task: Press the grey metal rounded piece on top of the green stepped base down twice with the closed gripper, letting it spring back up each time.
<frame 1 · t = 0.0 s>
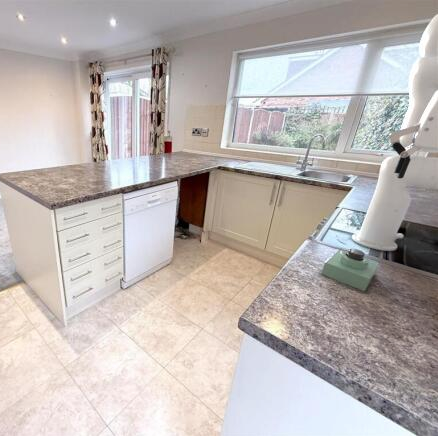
hand: (433, 181, 47), 31 cm above the worktop, tool pointing down, fingers open, 9 cm apart
grey metal rounded piece: (355, 254, 69), point 7 cm above the worktop, slide at 0.1 cm
green stepped base: (347, 274, 71), on the worktop
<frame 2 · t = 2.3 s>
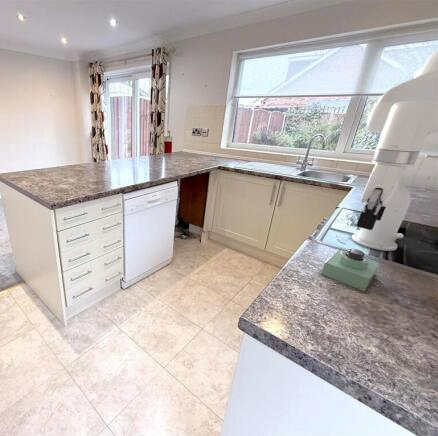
hand: (368, 223, 65), 16 cm above the worktop, tool pointing down, fingers open, 9 cm apart
nothing on the worktop moved.
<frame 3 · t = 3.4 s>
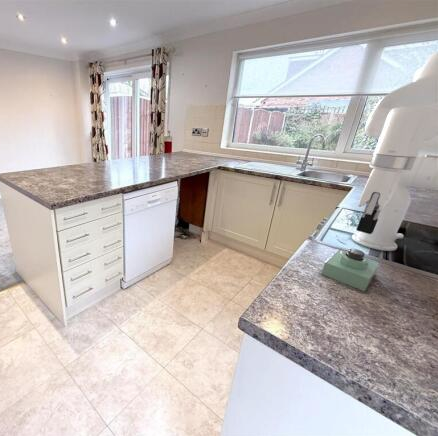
hand: (364, 231, 66), 14 cm above the worktop, tool pointing down, fingers closed
nothing on the worktop moved.
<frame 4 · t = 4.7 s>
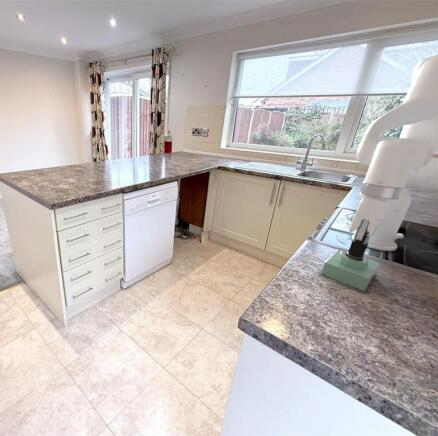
hand: (355, 254, 69), 7 cm above the worktop, tool pointing down, fingers closed
grey metal rounded piece: (354, 257, 69), point 6 cm above the worktop, slide at -0.8 cm, touching gripper
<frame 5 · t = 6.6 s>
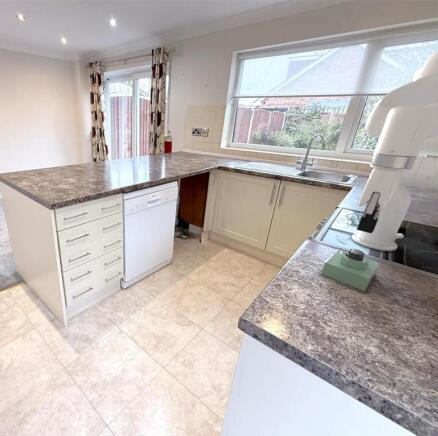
hand: (364, 230, 66), 14 cm above the worktop, tool pointing down, fingers closed
grey metal rounded piece: (355, 254, 69), point 7 cm above the worktop, slide at 0.1 cm
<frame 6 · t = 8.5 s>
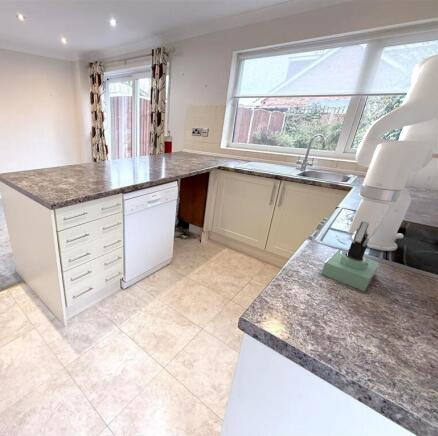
hand: (354, 256, 69), 6 cm above the worktop, tool pointing down, fingers closed
grey metal rounded piece: (353, 259, 69), point 5 cm above the worktop, slide at -1.3 cm, touching gripper
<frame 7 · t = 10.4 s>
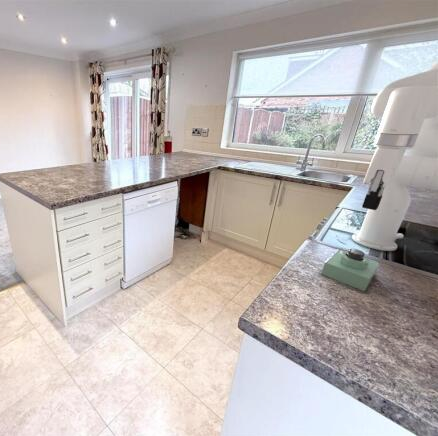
hand: (369, 208, 70), 19 cm above the worktop, tool pointing down, fingers closed
grey metal rounded piece: (355, 254, 69), point 7 cm above the worktop, slide at 0.1 cm
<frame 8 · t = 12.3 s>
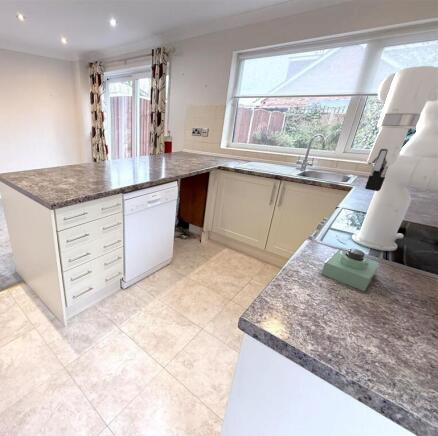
hand: (372, 189, 71), 23 cm above the worktop, tool pointing down, fingers closed
nothing on the worktop moved.
at the end: grey metal rounded piece pushed in 1.4 cm at the most during the clip, back to where it started at the end; grey metal rounded piece slide at 0.1 cm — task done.
